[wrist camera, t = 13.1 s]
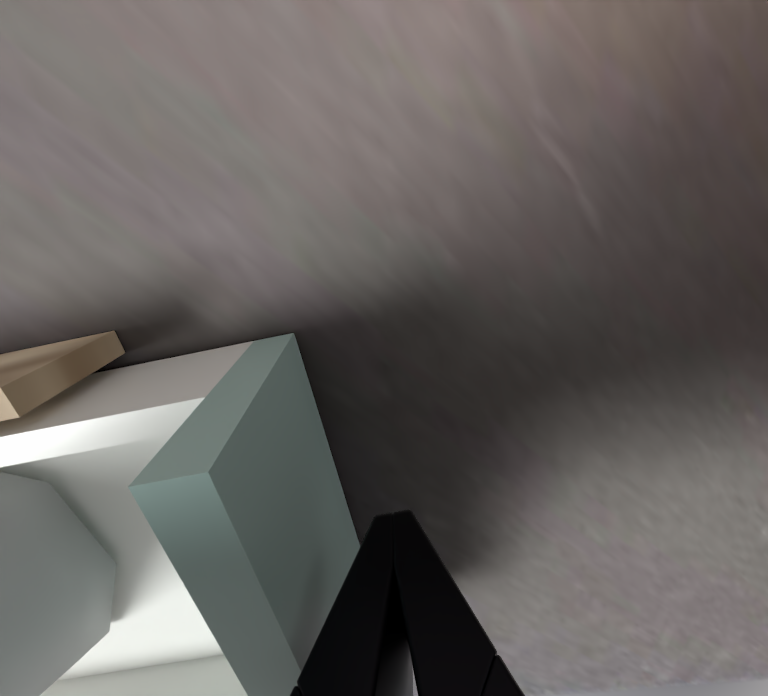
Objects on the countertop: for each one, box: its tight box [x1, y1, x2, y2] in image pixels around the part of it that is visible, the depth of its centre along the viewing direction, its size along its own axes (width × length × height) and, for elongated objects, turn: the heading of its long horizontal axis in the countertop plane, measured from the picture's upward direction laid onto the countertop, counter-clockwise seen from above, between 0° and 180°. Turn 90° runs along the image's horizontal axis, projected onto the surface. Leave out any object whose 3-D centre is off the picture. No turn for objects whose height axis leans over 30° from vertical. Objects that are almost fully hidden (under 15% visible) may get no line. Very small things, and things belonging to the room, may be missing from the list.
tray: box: [0, 333, 360, 696], centre depth 9 cm, size 15×10×5 cm
